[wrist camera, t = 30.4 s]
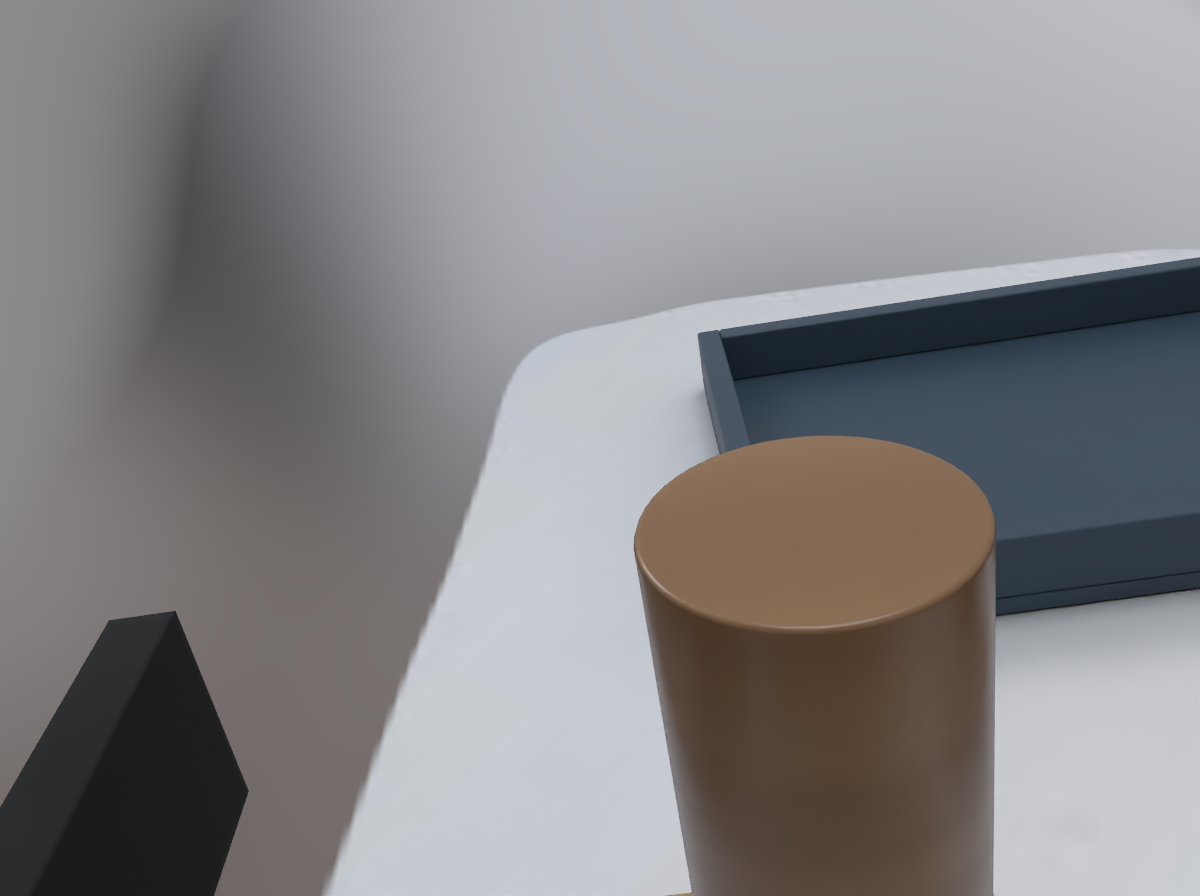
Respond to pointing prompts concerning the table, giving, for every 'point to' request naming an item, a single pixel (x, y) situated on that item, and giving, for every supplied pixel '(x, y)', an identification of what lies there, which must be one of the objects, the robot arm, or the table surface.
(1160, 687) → the table surface
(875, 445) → the wooden rubber stamp
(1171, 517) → the tray
